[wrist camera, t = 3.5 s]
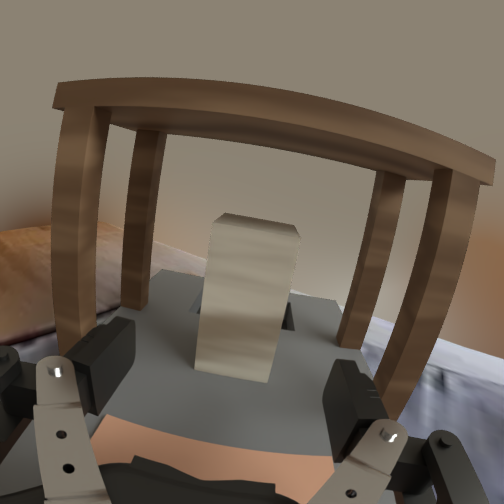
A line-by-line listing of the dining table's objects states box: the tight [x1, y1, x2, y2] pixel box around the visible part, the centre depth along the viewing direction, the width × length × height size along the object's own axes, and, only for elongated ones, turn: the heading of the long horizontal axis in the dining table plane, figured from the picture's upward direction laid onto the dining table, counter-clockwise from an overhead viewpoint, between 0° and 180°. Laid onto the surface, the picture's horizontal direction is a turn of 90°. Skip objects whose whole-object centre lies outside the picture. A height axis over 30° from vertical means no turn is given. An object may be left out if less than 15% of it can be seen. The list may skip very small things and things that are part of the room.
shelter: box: [51, 77, 496, 421], centre depth 20 cm, size 12×24×17 cm, turn 87°
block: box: [194, 213, 301, 383], centre depth 21 cm, size 5×5×10 cm
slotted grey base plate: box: [0, 269, 396, 504], centre depth 20 cm, size 36×22×3 cm, turn 177°
